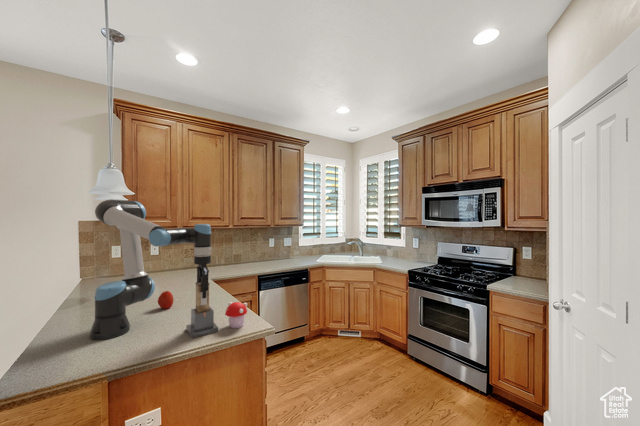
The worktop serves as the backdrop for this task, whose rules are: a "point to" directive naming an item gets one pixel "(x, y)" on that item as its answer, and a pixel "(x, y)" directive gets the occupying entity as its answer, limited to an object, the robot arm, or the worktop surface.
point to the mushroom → (236, 314)
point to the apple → (165, 300)
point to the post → (198, 299)
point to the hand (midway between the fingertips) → (202, 302)
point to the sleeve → (201, 323)
